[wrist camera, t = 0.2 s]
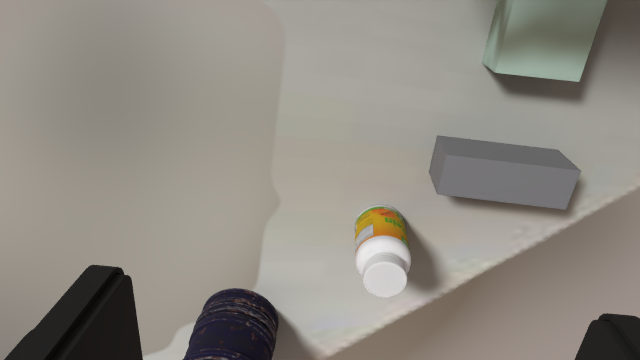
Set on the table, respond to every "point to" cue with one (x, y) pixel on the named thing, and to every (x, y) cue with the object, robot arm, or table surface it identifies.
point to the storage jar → (234, 328)
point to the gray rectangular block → (502, 172)
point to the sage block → (542, 37)
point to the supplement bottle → (382, 250)
